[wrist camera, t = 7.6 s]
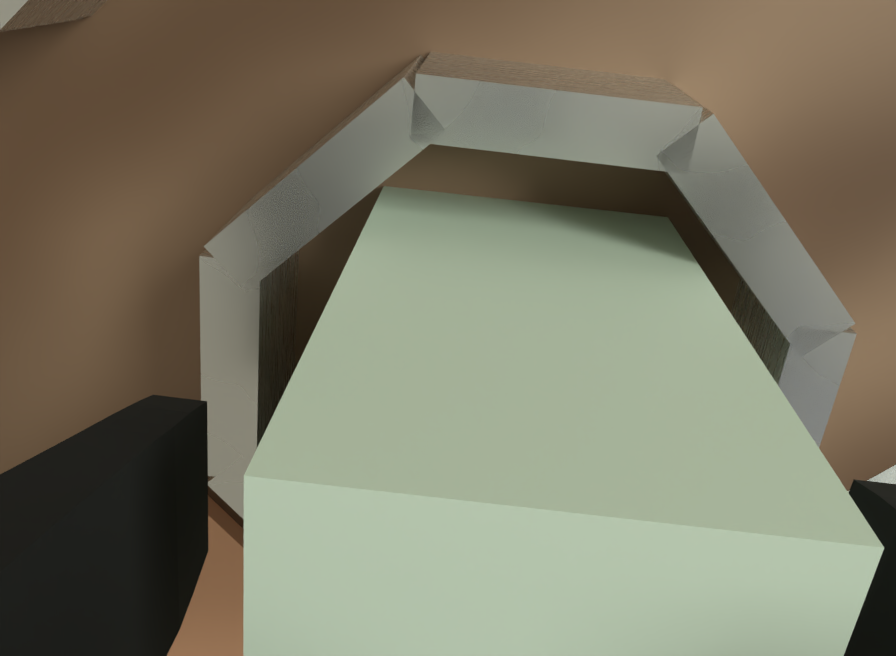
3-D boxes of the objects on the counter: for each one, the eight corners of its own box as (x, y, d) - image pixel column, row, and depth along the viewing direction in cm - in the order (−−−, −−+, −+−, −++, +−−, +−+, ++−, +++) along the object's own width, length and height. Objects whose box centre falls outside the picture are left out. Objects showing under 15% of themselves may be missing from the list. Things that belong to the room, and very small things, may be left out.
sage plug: (616, 459, 15) (733, 945, 8) (366, 431, 15) (243, 889, 8) (668, 216, 13) (885, 548, 6) (383, 186, 13) (243, 475, 6)
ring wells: (874, 378, 14) (948, 460, 12) (465, 619, 17) (460, 726, 14) (-166, -1141, 8) (-419, -1562, 6) (-556, -415, 11) (-842, -516, 8)
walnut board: (1072, 320, 15) (1111, 345, 14) (302, 758, 20) (292, 797, 19) (-41, -1610, 8) (-114, -1822, 7) (-769, -167, 13) (-864, -176, 12)
